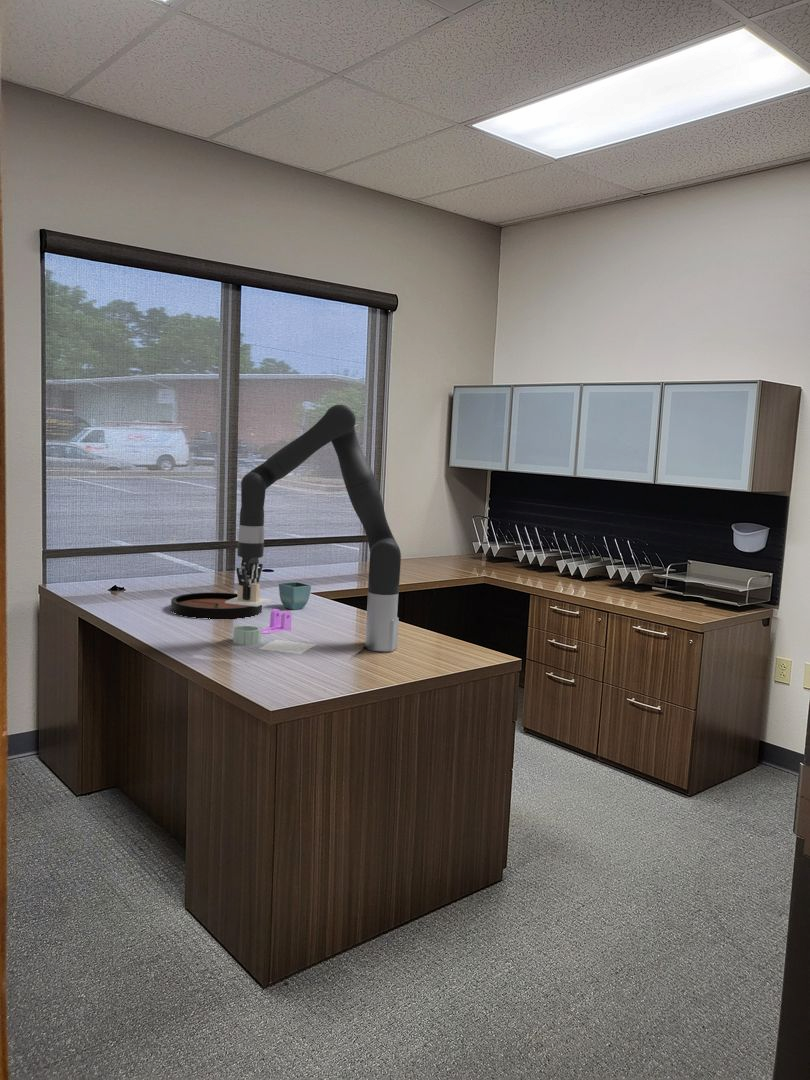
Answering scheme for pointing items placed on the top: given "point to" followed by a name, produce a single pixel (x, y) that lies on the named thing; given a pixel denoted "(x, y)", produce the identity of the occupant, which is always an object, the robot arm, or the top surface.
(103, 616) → the top surface
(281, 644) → the mat
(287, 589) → the flower pot
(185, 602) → the wall clock
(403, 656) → the top surface
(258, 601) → the cover
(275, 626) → the bracket
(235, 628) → the cup
